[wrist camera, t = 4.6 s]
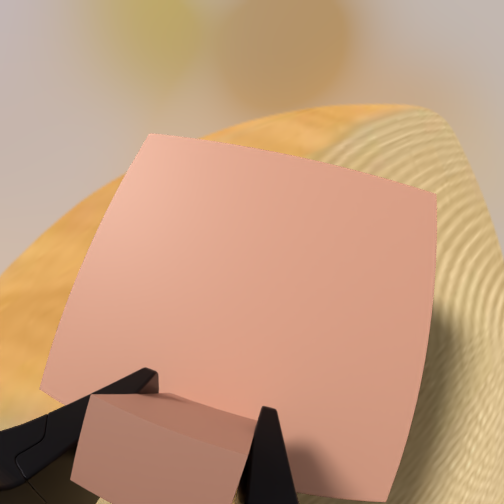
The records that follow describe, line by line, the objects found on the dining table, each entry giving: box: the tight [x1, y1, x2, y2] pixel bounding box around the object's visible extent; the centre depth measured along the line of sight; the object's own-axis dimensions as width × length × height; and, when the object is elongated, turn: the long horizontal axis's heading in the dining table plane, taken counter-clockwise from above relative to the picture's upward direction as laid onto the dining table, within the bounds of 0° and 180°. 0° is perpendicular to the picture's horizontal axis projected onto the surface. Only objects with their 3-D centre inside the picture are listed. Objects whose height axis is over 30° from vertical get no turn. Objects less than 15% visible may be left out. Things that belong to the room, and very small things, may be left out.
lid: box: [40, 133, 437, 504], centre depth 9 cm, size 12×13×6 cm
